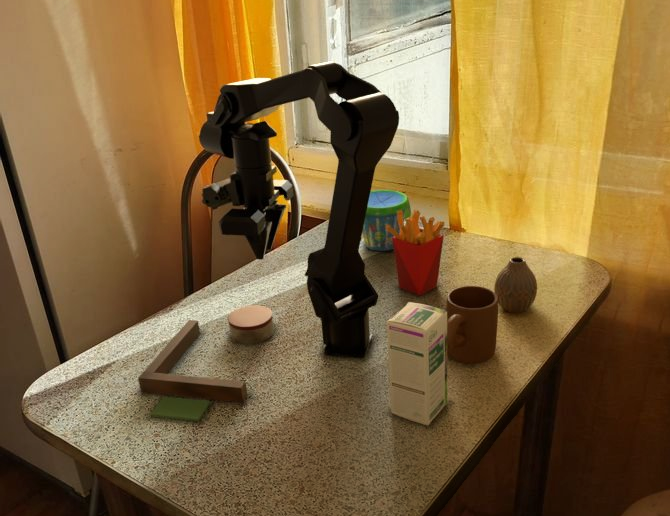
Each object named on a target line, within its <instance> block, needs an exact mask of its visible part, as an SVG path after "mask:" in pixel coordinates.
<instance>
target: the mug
mask: <svg viewBox="0 0 670 516" xmlns="http://www.w3.org/2000/svg"><path fill="white" fill-rule="evenodd" d="M445 301H446V302H445V311H447V356H449V357H450V358H451V359H453V360H454V361H456V362H459V363H462V364H472V365H473V364H481V363H484V362H486V361H489V360H490V359H492V357H493V356H494V355H495V352H496V348H497V335H498V321H499V304H498V297H497V295H496V294H495V291H493V290H492V289H490V288H487V287H484V286H480V285H479V286H478V285H462V286H459V287H455V288H452V289H451V290H450V291H449V292H448V293H447V295H446V300H445Z"/></svg>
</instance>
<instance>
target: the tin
mask: <svg viewBox="0 0 670 516" xmlns="http://www.w3.org/2000/svg"><path fill="white" fill-rule="evenodd" d="M273 319H274V316H273V311H272V309H270V308H269V307H267V306H264V305H257V304H256V305H255V304H254V305H253V304H252V305H244V306H242V307H239V308H236V309H234V310H233V311H232V312H230V314H229V315H228V317H227V323H228V326H229V332H230V338H231V339H232V340H233V341H234V342H236V343H239V344H243V345H253V344H254V345H255V344H258V343H261V342H264V341H266V340H268V339H270V338H272V336H273V334H274V332H275V327H274V321H273Z"/></svg>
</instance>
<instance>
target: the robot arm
mask: <svg viewBox="0 0 670 516" xmlns="http://www.w3.org/2000/svg"><path fill="white" fill-rule="evenodd" d="M219 93H220V94H219V95H218V97H217V100H216V104H215V107H214V110H213V111H210V112H206V121H205V122H204V123H203V124H202V125H201V128H200V131H199V135H198V140H199V143H200V144H199V145H200V146H201V147H202V148H203V150H204V151H205V152H207V153H210V154H214V155H217V156H220V157H223V158H227V159H230V160H231V159H232V160H233V161H234V167H235V169H234V170H235V171H233V172H232V173H231V175H230V176H229V177H228V178H226V179H224V180H221V181H217V182H216V183H214V182H212V183H211V184H210V185H205V186H204V187H202V193H201V197H202V200H201V202H202V204H203V205H205V206H206V207H208V208H210V209H211V211H214V210H217V209H219V208H220V207H223V206H225V205H228V204H230V203H231V204H232V207H241V206H243V208H230V209H229V211H228V212H226V214H224V215H223V216H222V217H221V218H220V219H219V220H218V227H219V228H218V229H219V233H220V234H221V235H223V236H240V237H241V236H242V237H243V236H244V237H245V239H246V240H247V242H248V244H249V247H250V249H251V250H252V252H253V254H254V257H255V258H256V260H264V258H265V255H266V251H269V250H270V251H271V250H272V249H273V245H274V243H275V239H276V236H277V233H278V231H279V228H280V225H281V222H282V219H283V216H284V214H285V211H286V209H287V204H284V203H279V200H277V199H278V198H279V197H280V196H283V199H284V200H285V201H288V202H289V201H290V200H291V199H292V198H293V197H294V186H293V184H292V183H291V182H290V181H289V180H288V179H274V175H275V174H276V173H277V172H278V169H277V165H273V163H272V155H271V154H272V153H271V144H270V139H271V138H272V139H273V138H275V137H277V136H278V133H277V131H276V130H275V129H274V128H273V127H272V126H270V124H269V123H268V122H267V121H266V120H262V121H259V122H254V123H253V122H252V121H256V120H259V119H261V118H265V117H267V116H270V115H271V114H273V113H274V112H276V111H278V109H279V107H281V106H283V105H286V104H290V103H293V102H298V101H302V100H306V99H310V100H311V101H312V102H313V104H314V107H315V111H316V115H317V119H318V120H319V122H321V124H323V125H324V126H325V128H326V129H328V130H329V132H330V133H329V136H330V139H329V140H330V141H329V142H330V145H331V147H332V149H333V151H334V153H335V156H336V157H337V169H336V175H335V180H334V187H333V192H332V193H333V194H332V199H331V204H330V205H331V206H330V212H329V218H328V224H327V230H326V237H325V243H324V247H321V248H319V249H316V250H314V251H312V252H309V254H308V257H307V268H306V271H305V272H304V276H305V277H306V287H307V292H308V295H309V299H310V302H311V305H312V308H313V311H314V314H315V316H316V317H317V318H318V319H320V321H321V322H320V323H321V335H322V343H323V345H325V346H324V348H323V354H324V355H329V356H339V357H353V358H364V357H366V355H367V353H368V350H369V347H370V344H371V342H372V339H373V333H371V332H370V314H369V309H370V308H372V307H375V306H376V305H377V303H378V300H379V294H378V292H377V291H376V289H375V287H374V286H373V284H372V283H371V281H370V280H369V278H368V277H367V276H366V273H365V272H366V263H365V262H364V259H363V257H362V255H361V254H360V252H359V250H360V246H361V242H362V240H361V239H362V237H363V234H362V231H363V226H364V221H365V216H366V211H367V206H368V201H369V196H370V191H372V186H373V180H374V177H375V172H376V167H377V165H378V163H380V161H381V159H382V158H383V157H384V156H385V154H386V153H387V151H388V150H389V149H390V147H391V146H392V143H393V141H394V138H395V135H396V133H397V130H398V127H399V125H400V114H399V110H397V107H396V105H395V103H394V102H393V100H392V99H391V98H390V97H389V96H388V95H387V94H385V93H383V92H382V91H381V90H380V89H378V88H377V86H375V85H374V84H372V83H371V82H369V81H367V80H365V79H363V78H360V77H358V76H356V75H354V74H352V73H351V72H349V71H348V70H347V69H346V68H345V67H344V66H342V65H341V64H340V63H338V62H335V61H326V62H322V63H317V64H310V65H308V66H307V67H305V68H304V69H301V70H298V71H294V72H291V73H288V74H285V75H281V76H278V77H275V78H269V77H256V78H250V79H246V80H241V81H235V82H231V83H225V84H223V85H221V87H220V89H219ZM334 94H335V95H337V96H338V97H339V98H341V99H342V100H343V101H341V102H337V101H336V100H335V99H334V98H333V97H331V95H334Z"/></svg>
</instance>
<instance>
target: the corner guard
mask: <svg viewBox="0 0 670 516" xmlns="http://www.w3.org/2000/svg"><path fill="white" fill-rule="evenodd" d="M200 335H201V331H200V324H199V320H198V319H197V320H194V319H188V320H187V321H186V323H185V324H184V325H183V326H182V327H181V328H180V330H179V331H178V332H177V333H176V334H175V335H174V336H173V337H172V339H171V340H170V341H169V342H168V343H167V344H166V346H165V347H164V348H163V349H162V350H161V351H160V352H159V353H158V354H157V356H156V357H154V359H153V360H152V361H151V363H150V364H148V366H147V367H146V368H145V369H144V370H143V371H142V373H141V374H140V375H139V376H138V377H137V379H138V384H139V387H140V391H141V393H145V394H156V395H166V396H174V397H175V396H176V397H185V398H195V399H205V400H215V401H222V402H223V401H224V402H233V403H245V401H246V400H247V398H248V390H247V384H246V380H245V381H244V380H234V379H223V378H212V377H204V376H203V377H202V376H193V375H192V376H191V375H183V374H181V375H180V374H173V373H172V374H171V373H170V371H171V370H172V369H173V367H175V365H176V364H177V363H178V361H179V360H180V359H182V357H183V355H184V354H185V353H186V352H187V350H188V349H189V348H190V346H192V344H193V343H194V342H195V341H196V340H197V338H198V337H199V336H200Z"/></svg>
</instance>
